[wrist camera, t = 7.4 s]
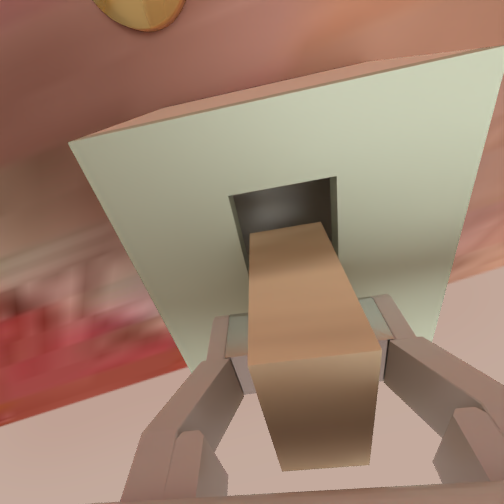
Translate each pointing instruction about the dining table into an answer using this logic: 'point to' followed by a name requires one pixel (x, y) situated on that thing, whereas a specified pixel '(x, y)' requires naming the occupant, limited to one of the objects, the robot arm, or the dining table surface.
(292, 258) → the block
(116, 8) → the brass disc
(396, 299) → the box
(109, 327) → the dining table surface
